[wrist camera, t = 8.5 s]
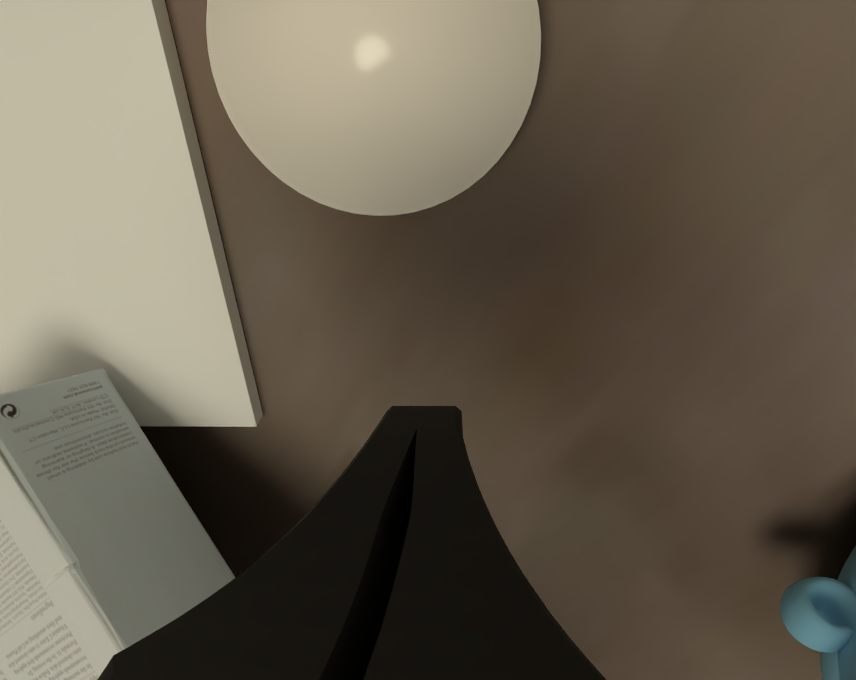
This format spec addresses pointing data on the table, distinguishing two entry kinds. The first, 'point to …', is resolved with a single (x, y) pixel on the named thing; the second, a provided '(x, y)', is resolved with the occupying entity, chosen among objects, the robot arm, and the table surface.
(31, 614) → the grey printed book
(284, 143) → the cream round disc
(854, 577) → the decorative pot
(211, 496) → the table surface
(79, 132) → the white tray
